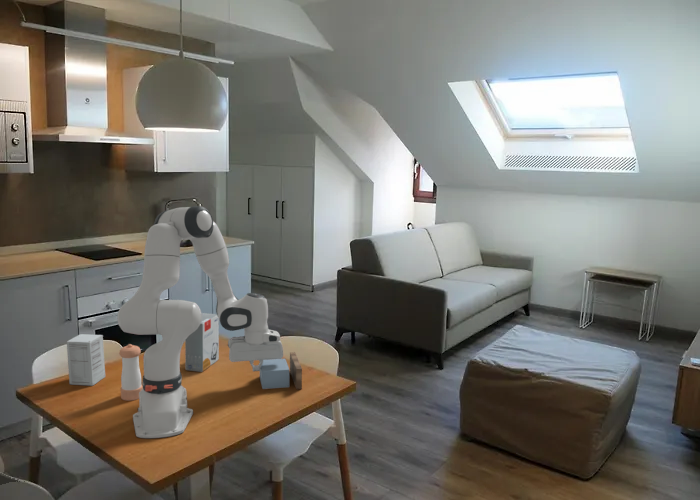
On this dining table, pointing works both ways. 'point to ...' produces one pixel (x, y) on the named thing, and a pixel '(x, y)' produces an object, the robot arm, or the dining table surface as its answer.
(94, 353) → the supplement box
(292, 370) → the board
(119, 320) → the robot arm
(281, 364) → the slate block
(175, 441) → the dining table surface
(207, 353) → the hard drive box
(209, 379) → the dining table surface
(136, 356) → the pepper shaker
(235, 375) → the dining table surface
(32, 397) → the dining table surface
